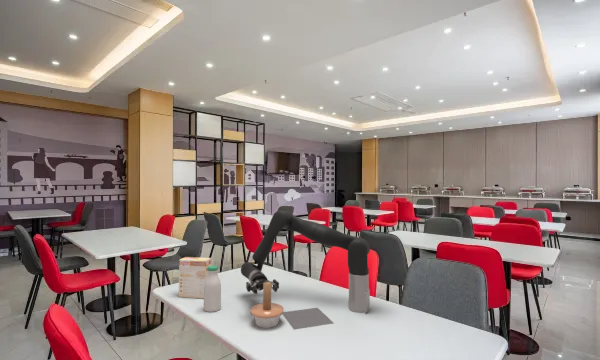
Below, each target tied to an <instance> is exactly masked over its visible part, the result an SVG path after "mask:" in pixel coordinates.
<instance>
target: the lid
mask: <svg viewBox="0 0 600 360" xmlns="http://www.w3.org/2000/svg"><path fill="white" fill-rule="evenodd" d="M271 282H272V281H271ZM271 282H264V283H263V290H262V291H263V292H262V303H256V304H255V305H253V306H251V308H249V309H250V315H251V316H253V317H254V318H255V317H258V318H273V317H277V316H279V317H280V316H281V315H283V314H282V313H283V312H285V309H284V308H285V307H283V305H281V304H279V303H276V302H272V289H271Z"/></svg>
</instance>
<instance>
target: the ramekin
mask: <svg viewBox="0 0 600 360" xmlns="http://www.w3.org/2000/svg"><path fill="white" fill-rule="evenodd" d="M279 320H280V316H277V317H273V318H258V317H255V316H254V322H255V325H256V326H257V327H260V328H264V329H265V328H272V327H276V326H277V325H278V324H279Z"/></svg>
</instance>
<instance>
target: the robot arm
mask: <svg viewBox="0 0 600 360" xmlns="http://www.w3.org/2000/svg"><path fill="white" fill-rule="evenodd" d="M282 230H288V231H292V232H296V233H299V234H300V235H302V236H303V237H304V238H307V239H309V240H310V241H313V242H315V243H318V244H321V245H324V246H329V247H334V248H340V249H343V250H346V251H347V267H348V310H349V311H350V312H353V313H358V314H359V313H360V314H361V313H362V314H363V313H365V314H367V313H368V312H369V310H370V308H371V306H370V304H371V303H370V301H371V300H370V296H371V295H370V293H371V292H370V291H371V289H370V287H369V286H370V285H369V284H370V283H369V277H370V275H369V274H370V273H369V269H370V268H369V265H368V264H369V263H368V255H369V253H370V252H371V245H370V243H369V242H368V240H366V239H365V238H362V237H359V236H355V235H350V234H347V233H344V232H341V231H340V230H337V229H334V228H332V227H329V226H326V225H324V224H321V223H319V222H316V221H312V220H308V219H307V220H306V219H304V218H300V217H298V216H296V215H295V214H292V213H290V212H289V211H285V210H277V211H275V212H274V213H273V215H272V217H271V218H270V221H269V224H268V225H267V229H266V231H265V233H264V236H263V237H262V239H261V241H260V243H258V246H257V247H256V249H255V251H254V252H253V254H252V256H251V257H252V260H254V261H255V263H257V264H254V263H253V262H249V261H246V262H244V263H243V264H242V265H241V267H240V273H241V275H242V276H243V277H244V278H246V279H248V280H249V281H246V282H245V288H246V291H247V292H248V293H249V292H252V293H254V294H255V295H258V291H263V283H264V282H271V290H273V292H274V293H276V292H278V289H280V282H279V281H278V280H276V279H273V280H272V281H271V280H269V279H268V277H267V276H266V275H265V273H264V272H262V269H263V267H264V264H265V263H266V260H267V258H268V256H269V255H270V254H271V252H272V249H273V246H274V243H275V240H276V238H277V236H278V234H279V233H280V232H281V231H282Z"/></svg>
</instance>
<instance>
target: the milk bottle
mask: <svg viewBox="0 0 600 360" xmlns="http://www.w3.org/2000/svg"><path fill="white" fill-rule="evenodd" d="M218 271H219V266H218V265H211V266H209V267H208V276H207V278H206V281H205V284H204V299H203V310H204V312H208V313H209V312H210V313H213V312H218V311H220V309H221V308H222V284H221V283H222V282H221V279H220V277H219V273H218Z"/></svg>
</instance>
